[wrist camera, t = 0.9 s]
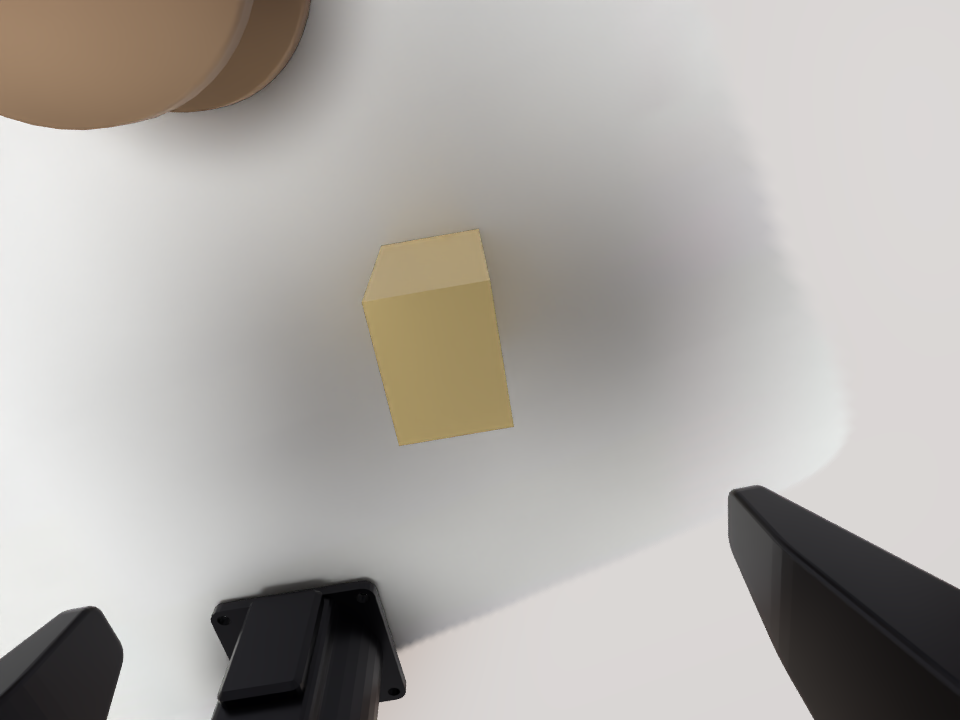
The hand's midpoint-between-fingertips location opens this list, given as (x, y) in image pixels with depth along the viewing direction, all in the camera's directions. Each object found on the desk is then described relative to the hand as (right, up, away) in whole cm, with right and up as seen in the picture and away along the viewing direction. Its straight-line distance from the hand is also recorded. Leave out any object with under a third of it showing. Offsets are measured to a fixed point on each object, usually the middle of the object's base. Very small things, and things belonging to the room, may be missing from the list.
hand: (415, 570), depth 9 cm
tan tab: (0, +5, +11) cm, 12 cm away
